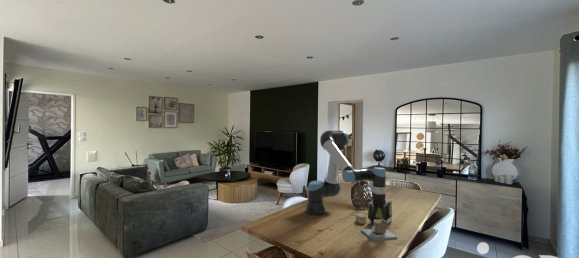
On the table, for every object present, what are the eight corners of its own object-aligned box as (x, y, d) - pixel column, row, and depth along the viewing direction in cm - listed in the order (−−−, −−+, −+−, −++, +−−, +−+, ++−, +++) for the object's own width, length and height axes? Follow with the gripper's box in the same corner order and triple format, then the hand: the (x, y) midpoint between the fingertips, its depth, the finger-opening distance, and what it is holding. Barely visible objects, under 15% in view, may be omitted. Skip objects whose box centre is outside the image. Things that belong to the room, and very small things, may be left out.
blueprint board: (361, 230, 160) (361, 228, 160) (383, 229, 163) (383, 227, 163) (372, 240, 147) (372, 238, 147) (397, 238, 150) (397, 236, 150)
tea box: (378, 217, 185) (379, 197, 185) (392, 221, 178) (392, 200, 178) (368, 222, 175) (369, 201, 174) (382, 227, 167) (383, 204, 167)
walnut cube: (371, 229, 157) (371, 220, 157) (380, 229, 158) (380, 219, 158) (376, 233, 151) (377, 223, 151) (386, 232, 152) (386, 222, 152)
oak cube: (355, 221, 177) (356, 214, 177) (362, 220, 178) (362, 213, 178) (359, 223, 173) (359, 216, 172) (365, 223, 173) (366, 216, 173)
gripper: (367, 195, 149) (367, 234, 149) (396, 193, 153) (396, 231, 153) (361, 192, 157) (361, 229, 157) (389, 190, 160) (389, 227, 160)
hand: (378, 230), depth 155 cm, fingers closed on walnut cube, 6 cm apart
